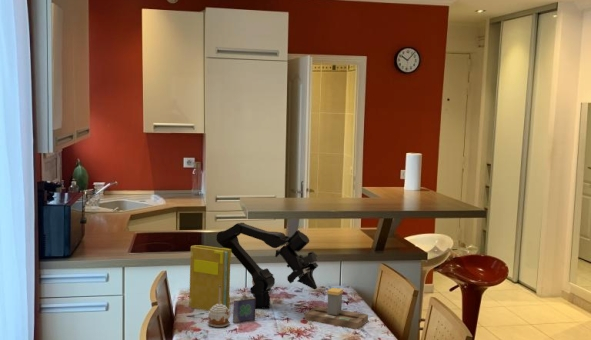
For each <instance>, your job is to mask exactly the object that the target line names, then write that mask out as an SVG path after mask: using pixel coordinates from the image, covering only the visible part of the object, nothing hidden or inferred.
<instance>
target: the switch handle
mask: <svg viewBox="0 0 591 340" xmlns="http://www.w3.org/2000/svg"><path fill="white" fill-rule="evenodd" d="M343 293H344V289H343V288H337V287H331V288H329V289H328V290H326V294H327V307H326V308H327V314H332V315H339V313H341V310H342V309H343V308H342V303H343Z"/></svg>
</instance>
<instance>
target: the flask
mask: <svg viewBox="0 0 591 340" xmlns="http://www.w3.org/2000/svg"><path fill="white" fill-rule="evenodd" d="M255 305H256V298H255V297H253V296H250V295H249V296H247V294H246V293H242V296H241V297H240V298H235V299H233V307H232V308H233V312H232V313H233V315H232V316H233V317H232V322H233V323H234V324H241V323H247V322H254V321H255V319H256V309H255Z"/></svg>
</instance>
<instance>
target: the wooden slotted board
mask: <svg viewBox="0 0 591 340" xmlns="http://www.w3.org/2000/svg"><path fill="white" fill-rule="evenodd" d="M327 308H328V307H325V306H319V305H317V306H315V307H313V308H312V309H310V310H308V311H307V312H305V313H304V320H305V321H310V322H315V323H321V324H326V325H332V326H337V327H342V328H343V327H344V328H347V329H354V330H359V329H360V328H361V327H362V326H364V325H365V324H366V323H367V322H368V321H369V314H365V313H361V312H354V311H348V310H344V309H343V310H342V309H341V313H339V315H332V314H327Z"/></svg>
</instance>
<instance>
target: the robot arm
mask: <svg viewBox="0 0 591 340" xmlns="http://www.w3.org/2000/svg"><path fill="white" fill-rule="evenodd" d="M241 234H242V235H244V236H247V237H250V238H254V239H256V240H260V241H262V242H264V243H265V244H266V245H267V246H269V247H271V248H273V249H276V250H275V256H274V257H275V258H278V257H281V258H282V259H283V260H284V261H285V263H286V264H287V265H286V268H290V269H291V270H292V272H290V274H288V275H287V276H286V279H287V282H288V283H289V284H292V283H294V282H295V280H296V279H297V278H298V280H297V281H296V282H297V283H301V284H303V285H305V286H307V287H309V288H311V289H313V290H314V291H315V290H317V289H318V286H317V284H316V281H315V278H314V276H313V273H314V271H315V270H316V269H317V268H318V267H319V264H318V263H317V262H316V261H318V259H317V257H318V255H317V254H316V253H315V252H314V251H310V252H308V253H307V255H306V256H303V255H301V254H298V252H301V251H302V250H303V248H305V247H306V246H307V245H308V244H309V243H310V238H309V236H307V235H306V234H305V233H304V232H302V231H300V230H295V232H294V233H293V234H292V235H291V236H289V235H286V234H285V233H284V232H280V231H269V230H265V229H262V228H259V227H256V226H253V225H249V224H246V223H244V222H237V223H235V224H234V225H232V226H231V227H229V228H227V229H225V230H222V231H221V230H220V231H219V232H217V234H216V241H217V243H218V244H219V245H220V246H222V247H221V248H227V249H231V254H233V255H234V257H235V258H236V259H237V261H239V262H240V264H241V265H242V266H243V268H245V270H246V271H247V272H248V273H249V274H250V275H251V278H252V279H253V282H254V284H255V285H254V286H253V285H252V286H251V287H250V288H249V290H250V293H251V294H252V297H255V298H256V305H255V310H257V309H258V310H259V309H261V310H262V309H270V305H271V295H270V291H271V290H272V288H273V287H274V286H275V283H276V280H275V279H276V278H275V276H274V274H273V273H272V272H271V271H270V269H269V268H264V269H263V268H262V267H260V266H259V265H258V263H257V262H255V260H254V259H253V258H252V256H250V254H249V253H248V252H247V251H246V250H245V248H244V247H243V246H242V245H241V244H240V242H239V239H238V236H240V235H241ZM277 248H278V249H277ZM279 248H280V249H279ZM252 279H251V280H252Z"/></svg>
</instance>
